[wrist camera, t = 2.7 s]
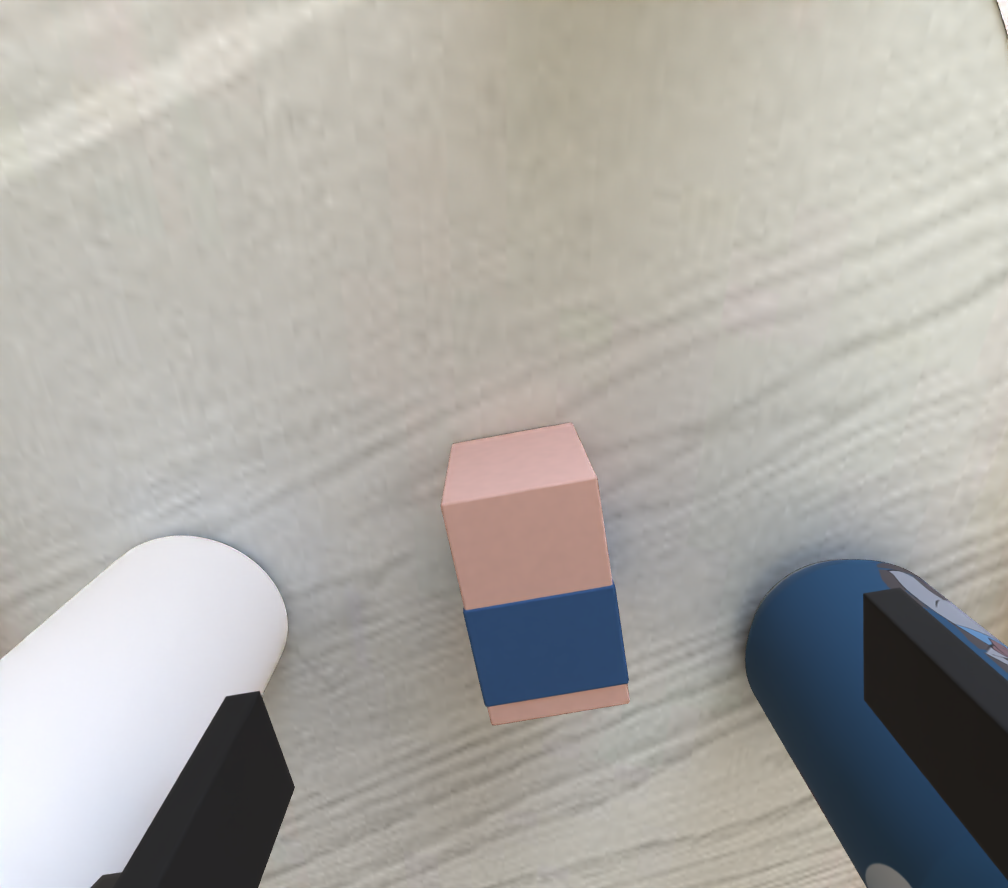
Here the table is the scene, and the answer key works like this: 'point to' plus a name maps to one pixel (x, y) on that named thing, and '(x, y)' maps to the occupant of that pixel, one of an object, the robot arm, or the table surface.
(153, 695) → the can
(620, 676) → the eraser
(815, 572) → the soda can
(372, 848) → the table surface
